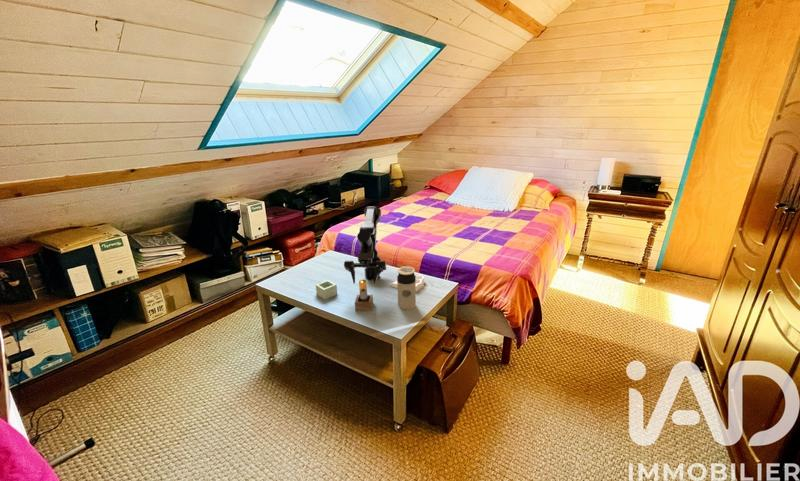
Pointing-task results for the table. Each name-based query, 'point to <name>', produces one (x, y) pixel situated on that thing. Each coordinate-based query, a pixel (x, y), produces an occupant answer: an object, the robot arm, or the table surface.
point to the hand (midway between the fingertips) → (364, 283)
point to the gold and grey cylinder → (363, 291)
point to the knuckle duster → (418, 282)
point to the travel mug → (406, 288)
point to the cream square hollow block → (326, 289)
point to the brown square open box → (364, 304)
